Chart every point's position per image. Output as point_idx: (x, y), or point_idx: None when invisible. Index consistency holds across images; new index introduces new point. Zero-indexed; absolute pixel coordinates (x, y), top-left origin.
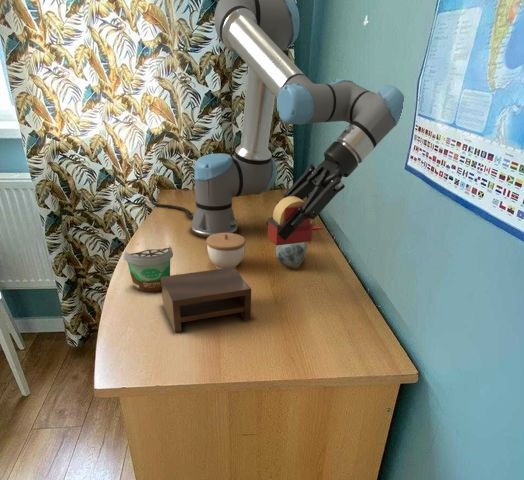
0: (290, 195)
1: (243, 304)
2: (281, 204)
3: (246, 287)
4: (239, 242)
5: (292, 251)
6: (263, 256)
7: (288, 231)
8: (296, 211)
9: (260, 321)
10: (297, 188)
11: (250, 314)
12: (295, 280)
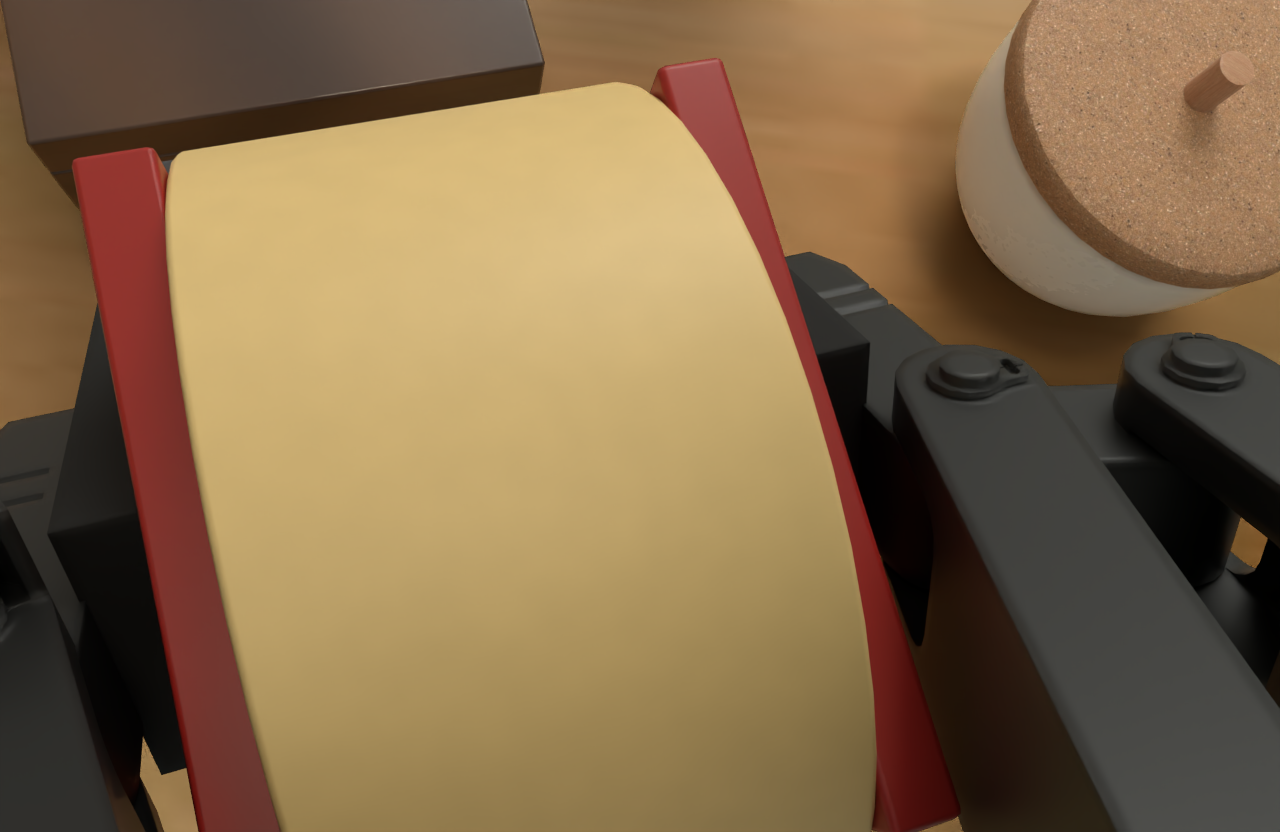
0: (1047, 458)
1: None
2: (484, 131)
3: (60, 102)
4: (1133, 208)
5: None
6: (1244, 543)
7: None
8: (100, 502)
9: (79, 343)
10: (1253, 672)
11: None
12: None
